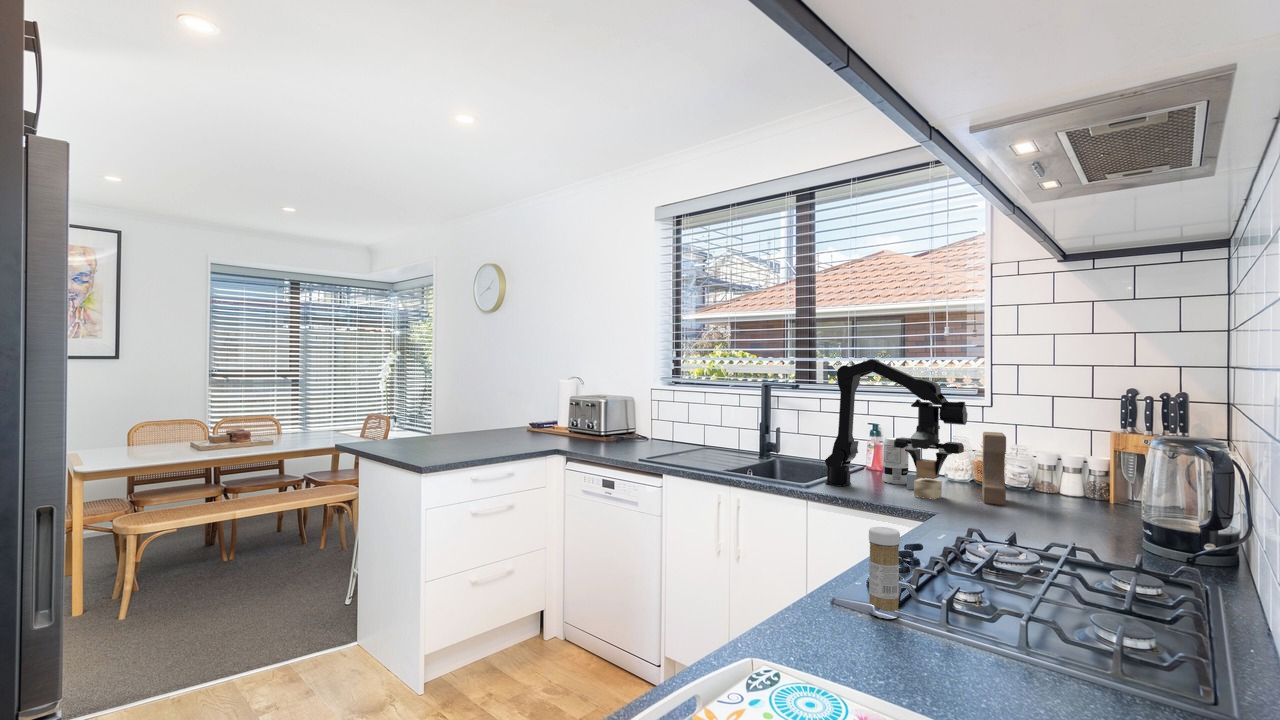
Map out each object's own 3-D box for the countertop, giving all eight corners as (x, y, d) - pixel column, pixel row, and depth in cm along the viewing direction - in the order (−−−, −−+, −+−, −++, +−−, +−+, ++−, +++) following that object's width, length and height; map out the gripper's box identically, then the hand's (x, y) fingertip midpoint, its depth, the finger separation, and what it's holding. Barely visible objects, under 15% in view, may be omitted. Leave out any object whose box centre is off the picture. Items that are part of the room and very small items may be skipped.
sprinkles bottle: (896, 611, 99) (897, 526, 99) (901, 622, 94) (902, 534, 94) (866, 608, 100) (867, 524, 100) (870, 619, 95) (871, 532, 95)
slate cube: (906, 489, 199) (906, 474, 199) (908, 487, 204) (908, 471, 204) (923, 491, 197) (923, 475, 197) (924, 488, 201) (925, 473, 201)
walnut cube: (922, 474, 192) (922, 458, 192) (939, 477, 188) (939, 460, 188) (916, 476, 188) (916, 460, 188) (933, 479, 185) (933, 462, 185)
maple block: (914, 497, 188) (914, 480, 188) (921, 494, 192) (921, 478, 192) (934, 500, 184) (934, 483, 184) (941, 497, 188) (941, 480, 188)
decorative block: (1005, 506, 177) (1006, 436, 177) (982, 503, 179) (983, 434, 179) (1003, 498, 186) (1004, 432, 187) (982, 496, 189) (982, 431, 189)
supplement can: (877, 480, 214) (878, 437, 214) (900, 480, 215) (900, 437, 215) (889, 484, 206) (890, 440, 206) (913, 484, 207) (913, 440, 207)
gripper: (887, 421, 189) (886, 472, 189) (952, 426, 176) (952, 481, 176) (901, 419, 197) (900, 468, 197) (964, 424, 184) (964, 476, 184)
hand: (927, 473), depth 188 cm, fingers closed on walnut cube, 5 cm apart
